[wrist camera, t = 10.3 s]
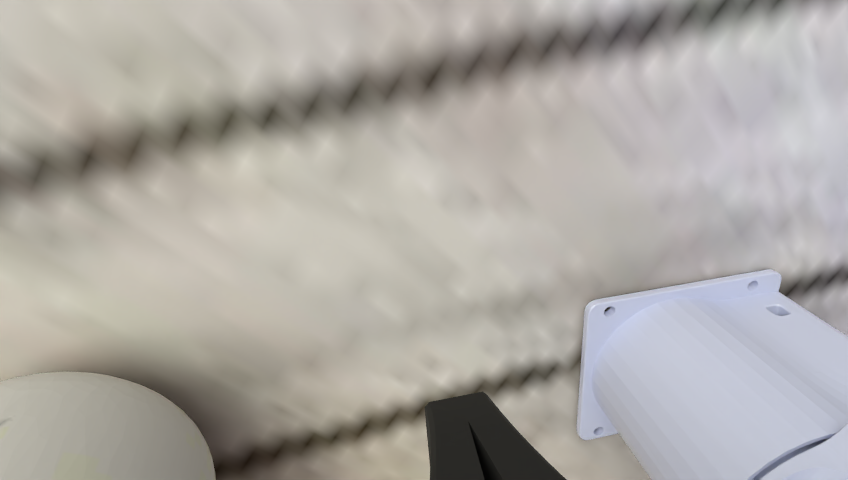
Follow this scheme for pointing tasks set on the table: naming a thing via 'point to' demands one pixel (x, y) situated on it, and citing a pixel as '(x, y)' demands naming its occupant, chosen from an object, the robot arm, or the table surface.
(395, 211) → the table surface
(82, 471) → the teacup
